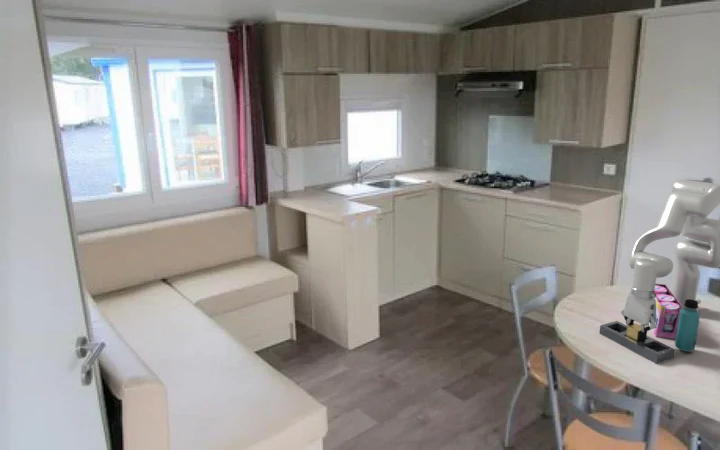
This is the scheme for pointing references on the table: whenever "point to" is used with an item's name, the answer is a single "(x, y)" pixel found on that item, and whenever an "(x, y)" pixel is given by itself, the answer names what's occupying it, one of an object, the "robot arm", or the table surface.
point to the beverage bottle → (687, 326)
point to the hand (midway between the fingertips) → (635, 336)
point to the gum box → (666, 312)
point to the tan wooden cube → (633, 332)
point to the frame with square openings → (637, 343)
